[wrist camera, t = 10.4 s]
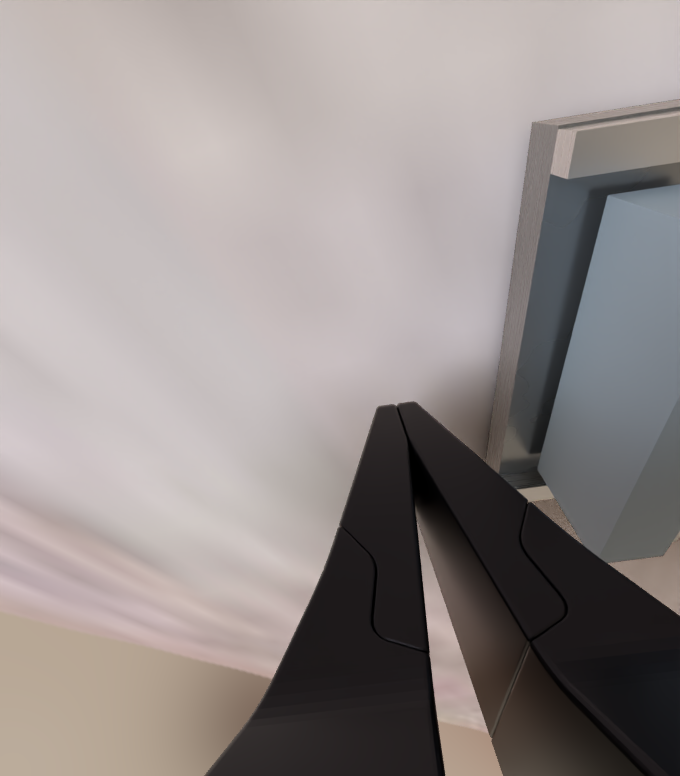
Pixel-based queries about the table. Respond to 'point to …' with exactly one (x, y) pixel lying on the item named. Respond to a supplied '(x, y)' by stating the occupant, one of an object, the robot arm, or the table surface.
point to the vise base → (564, 261)
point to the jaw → (623, 386)
